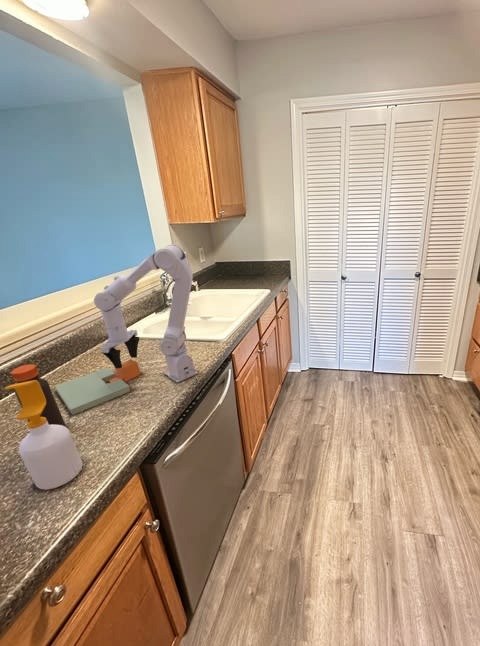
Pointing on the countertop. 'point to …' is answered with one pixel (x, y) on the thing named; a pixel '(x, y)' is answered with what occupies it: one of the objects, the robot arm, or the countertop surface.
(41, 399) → the soap bottle
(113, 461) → the countertop surface
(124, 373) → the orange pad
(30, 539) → the countertop surface
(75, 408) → the grey tile
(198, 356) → the countertop surface
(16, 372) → the vinegar
